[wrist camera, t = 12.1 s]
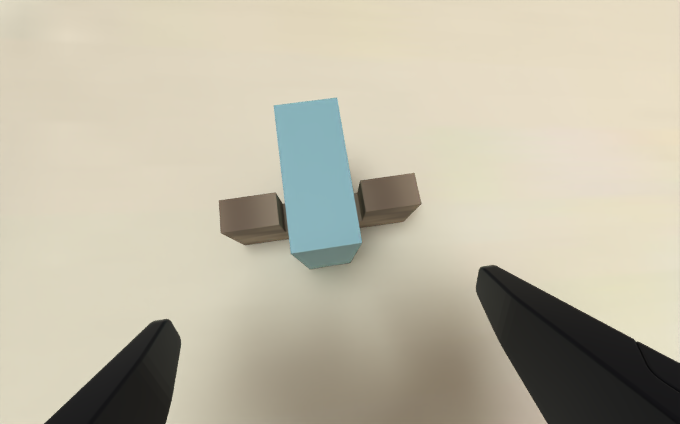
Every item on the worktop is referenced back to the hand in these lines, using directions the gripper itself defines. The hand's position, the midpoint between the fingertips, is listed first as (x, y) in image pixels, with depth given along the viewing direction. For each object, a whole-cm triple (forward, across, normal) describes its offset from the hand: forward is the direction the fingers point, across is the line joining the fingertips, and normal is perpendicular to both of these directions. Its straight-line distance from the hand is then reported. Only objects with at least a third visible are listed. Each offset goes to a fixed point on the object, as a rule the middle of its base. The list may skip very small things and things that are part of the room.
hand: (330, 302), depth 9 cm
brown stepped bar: (+14, 0, +6) cm, 15 cm away
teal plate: (+14, 0, +6) cm, 15 cm away
